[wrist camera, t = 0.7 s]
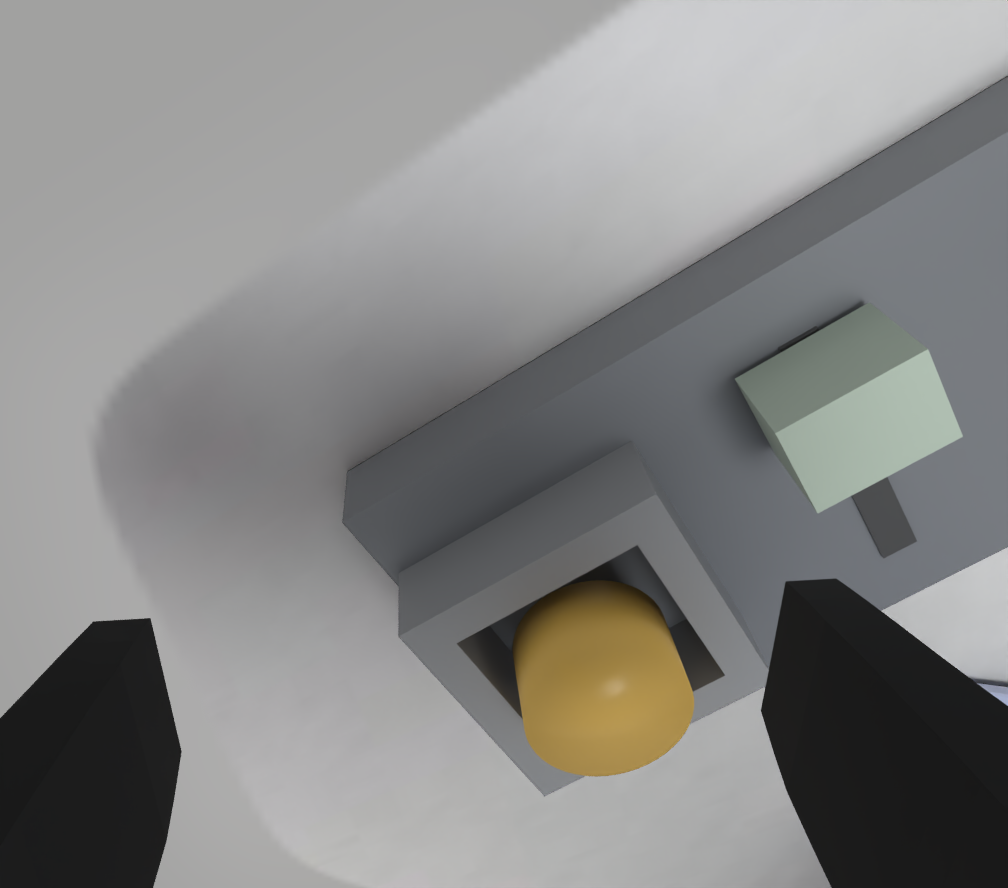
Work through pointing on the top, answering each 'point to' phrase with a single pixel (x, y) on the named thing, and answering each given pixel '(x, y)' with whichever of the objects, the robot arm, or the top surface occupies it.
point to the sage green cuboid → (850, 405)
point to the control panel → (712, 440)
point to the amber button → (600, 679)
